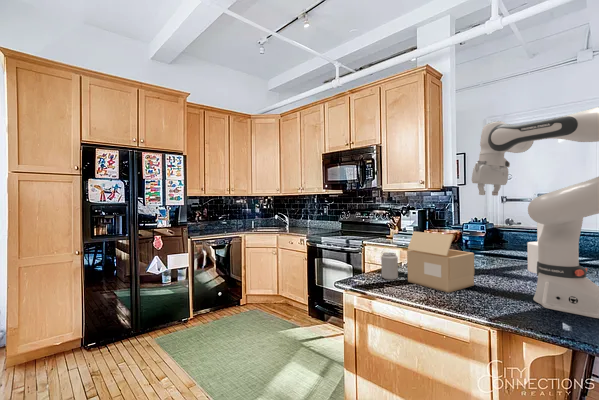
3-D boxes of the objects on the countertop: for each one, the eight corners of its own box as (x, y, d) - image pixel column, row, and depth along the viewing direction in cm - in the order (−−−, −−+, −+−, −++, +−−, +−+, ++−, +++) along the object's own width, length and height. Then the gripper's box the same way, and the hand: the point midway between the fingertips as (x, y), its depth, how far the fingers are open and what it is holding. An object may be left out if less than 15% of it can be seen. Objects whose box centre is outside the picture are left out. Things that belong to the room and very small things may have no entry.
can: (394, 281, 144) (394, 255, 144) (379, 278, 148) (378, 253, 148) (400, 277, 150) (399, 252, 150) (385, 275, 154) (384, 251, 154)
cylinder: (555, 268, 162) (554, 214, 162) (582, 276, 145) (581, 216, 145) (520, 267, 164) (519, 214, 164) (542, 276, 147) (541, 216, 146)
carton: (476, 285, 134) (475, 253, 134) (449, 293, 124) (448, 258, 124) (432, 275, 152) (432, 246, 152) (406, 281, 143) (405, 250, 142)
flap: (453, 235, 128) (452, 235, 127) (447, 256, 125) (446, 255, 125) (414, 231, 144) (413, 231, 144) (408, 249, 142) (407, 249, 142)
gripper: (484, 159, 121) (481, 195, 122) (512, 163, 132) (509, 196, 132) (468, 160, 127) (466, 194, 128) (496, 164, 137) (494, 195, 138)
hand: (488, 195), depth 130 cm, fingers open, 8 cm apart
